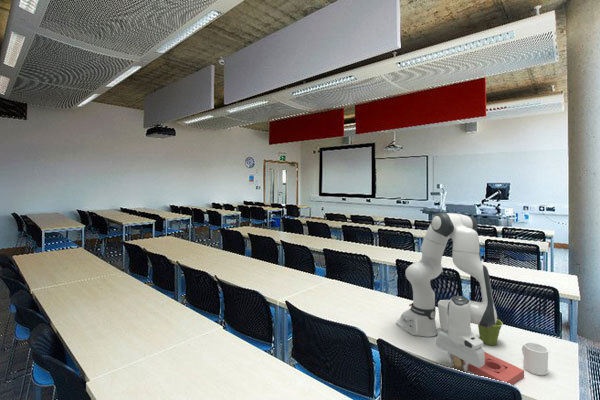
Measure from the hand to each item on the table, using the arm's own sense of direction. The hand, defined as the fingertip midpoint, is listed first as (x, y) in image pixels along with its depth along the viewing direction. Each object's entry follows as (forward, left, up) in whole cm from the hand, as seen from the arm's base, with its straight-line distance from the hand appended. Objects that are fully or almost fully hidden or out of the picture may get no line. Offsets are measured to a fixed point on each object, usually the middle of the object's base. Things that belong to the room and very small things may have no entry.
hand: (458, 366), depth 134 cm
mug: (+15, +30, -3) cm, 34 cm away
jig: (+8, +12, -2) cm, 15 cm away
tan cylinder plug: (0, 0, -2) cm, 2 cm away
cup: (-22, +25, -2) cm, 34 cm away
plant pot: (-7, +36, -2) cm, 37 cm away
